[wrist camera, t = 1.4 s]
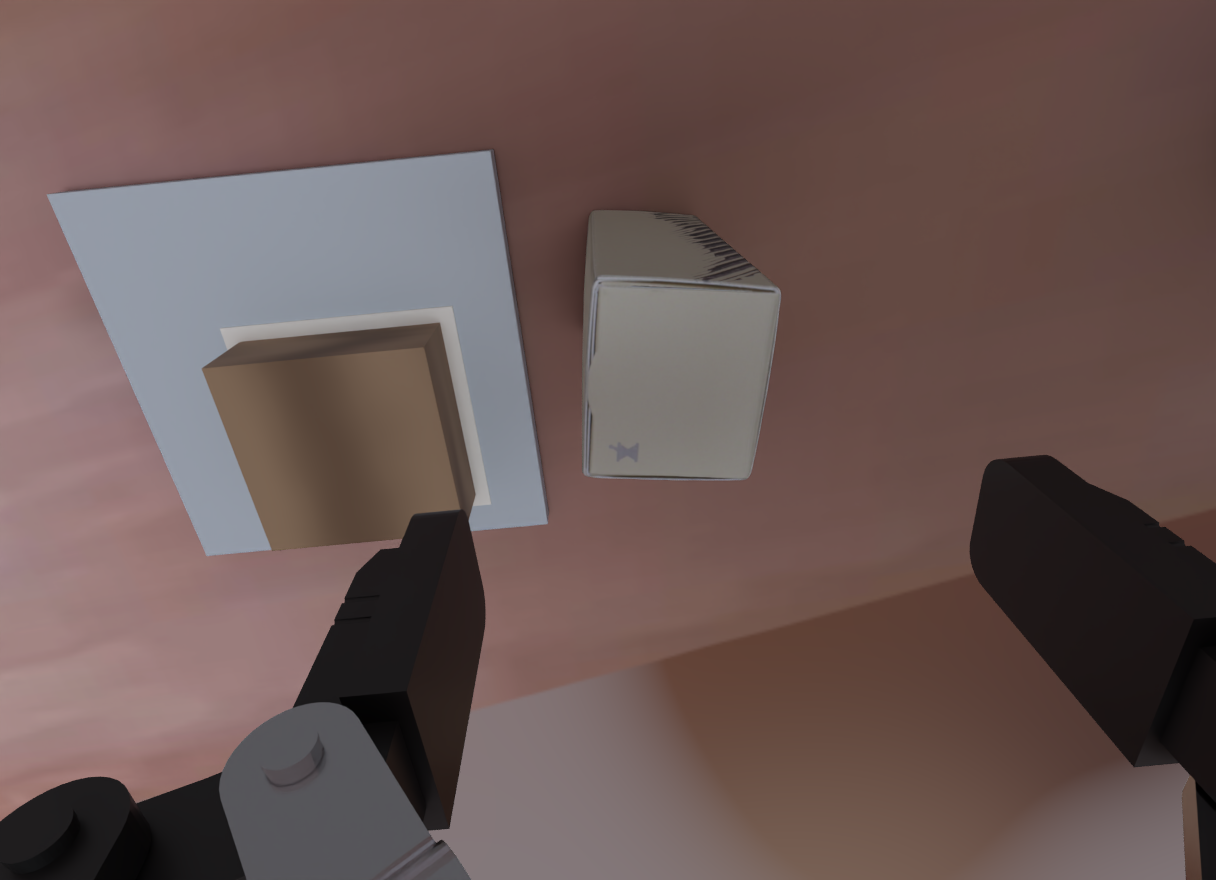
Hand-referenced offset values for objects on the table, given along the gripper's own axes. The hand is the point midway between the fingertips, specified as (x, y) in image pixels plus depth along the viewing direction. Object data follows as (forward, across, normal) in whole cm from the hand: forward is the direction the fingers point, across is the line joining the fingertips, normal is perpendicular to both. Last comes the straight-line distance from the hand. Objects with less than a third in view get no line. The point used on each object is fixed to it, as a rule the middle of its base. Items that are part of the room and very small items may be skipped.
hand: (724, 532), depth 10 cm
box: (+19, 0, 0) cm, 19 cm away
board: (+18, +13, +3) cm, 23 cm away
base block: (+17, +12, +5) cm, 22 cm away
